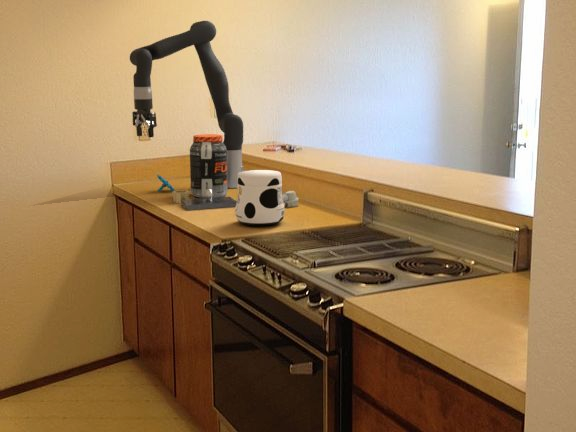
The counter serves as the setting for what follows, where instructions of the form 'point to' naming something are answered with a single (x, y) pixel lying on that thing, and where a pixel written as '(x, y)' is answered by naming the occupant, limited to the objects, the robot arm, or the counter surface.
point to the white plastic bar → (290, 199)
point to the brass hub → (180, 196)
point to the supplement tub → (208, 165)
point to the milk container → (259, 197)
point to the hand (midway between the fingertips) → (145, 136)
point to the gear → (164, 184)
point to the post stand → (208, 202)
